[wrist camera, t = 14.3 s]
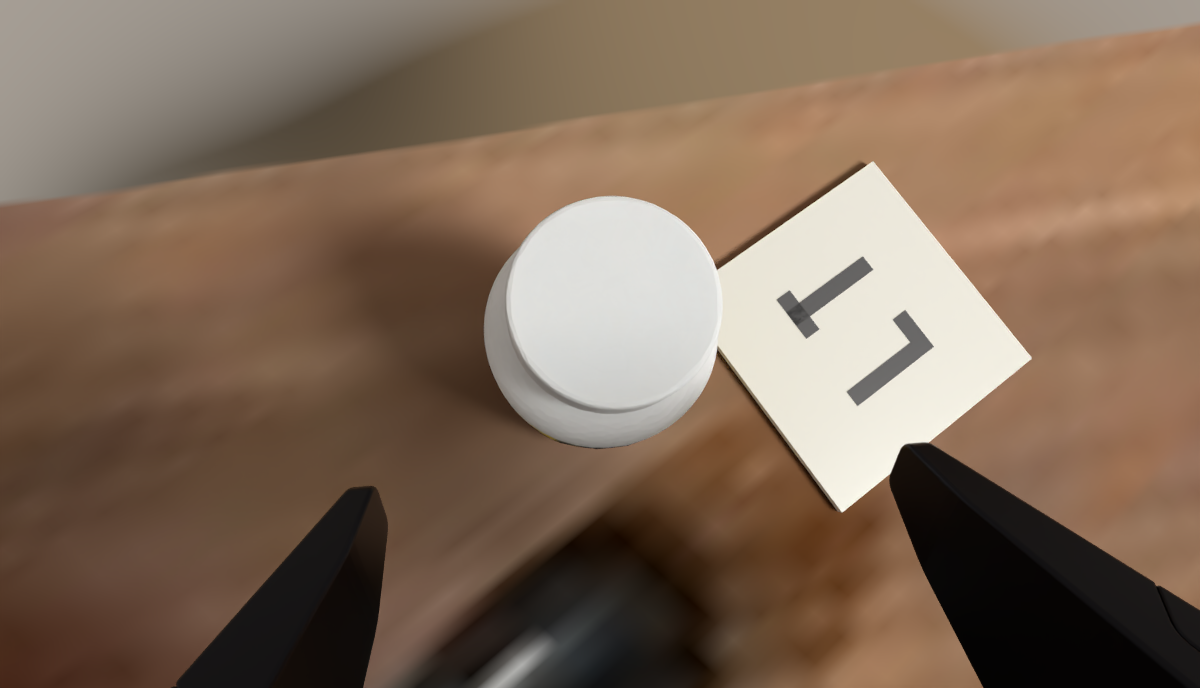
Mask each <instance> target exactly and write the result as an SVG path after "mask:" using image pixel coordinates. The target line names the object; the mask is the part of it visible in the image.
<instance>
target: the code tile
mask: <svg viewBox="0 0 1200 688" xmlns="http://www.w3.org/2000/svg"><path fill="white" fill-rule="evenodd" d="M717 272H718V276H719V280H720V285H721V289H722V298H723V312H722V321H721V326H720V331H719V335H718V346H717V350H718V351H719V352H720V354H721V355H722V356H723V358H724V359H725V360H726V362H727V363H728V364H729V366H730V367H731V368H732V370H733V371H734V372H735V374H736V375H737V376H738V378H739V379H740V381H741V382H742V383H743V385H744V386H745V387H746V389H747V390H748V391H749V393H750V394H751V395H752V397H753V398H754V399H755V401H756V402H757V403H758V405H759V406H760V407H761V409H762V410H763V412H764V413H765V414H766V416H767V417H768V418H769V420H770V421H771V422H772V424H773V425H774V426H775V428H776V429H777V430H778V432H779V433H780V434H781V436H782V437H783V438H784V440H785V441H786V442H787V444H788V445H789V447H790V448H791V449H792V451H793V452H794V453H795V455H796V456H797V457H798V459H799V460H800V461H801V463H802V464H803V465H804V467H805V468H806V469H807V471H808V472H809V473H810V475H811V476H812V477H813V479H814V480H815V482H816V483H817V484H818V486H819V487H820V488H821V490H822V491H823V492H824V494H825V495H826V496H827V498H828V499H829V500H830V502H831V503H832V504H833V506H834V507H835V508H836V510H837V511H838V512H841V513H842V512H843V511H845V510H846V509H847V508H848V507H850V506H851V505H852V504H853V503H855V502H856V501H857V500H858V499H859V498H861V497H862V496H863V495H864V494H866V493H867V492H868V491H869V490H871V489H872V488H873V487H874V486H875V485H877V484H878V483H879V482H880V481H882V480H883V479H884V478H885V477H887V476H888V475H889V474H890V473H891V471H892V468H893V466H894V463H895V461H896V459H897V456H898V454H899V451H900V449H901V447H902V446H903V445H905V444H907V443H919V442H927V443H928V442H930V441H931V440H932V439H933V438H935V437H936V436H937V435H938V434H940V433H941V432H942V431H943V430H944V429H946V428H947V427H948V426H949V425H951V424H952V423H953V422H954V421H956V420H957V419H958V418H959V417H960V416H962V415H963V414H964V413H965V412H967V411H968V410H969V409H970V408H972V407H973V406H974V405H975V404H976V403H978V402H979V401H980V400H981V399H983V398H984V397H985V396H986V395H988V394H989V393H990V392H991V391H992V390H994V389H995V388H996V387H997V386H999V385H1000V384H1001V383H1002V382H1004V381H1005V380H1006V379H1007V378H1009V377H1010V376H1011V375H1012V374H1013V373H1015V372H1016V371H1017V370H1018V369H1020V368H1021V367H1022V366H1023V365H1025V364H1026V363H1027V362H1028V361H1029V360H1031V359H1032V358H1031V356H1030V355H1029V354H1028V353H1027V351H1026V350H1025V349H1024V348H1023V347H1022V345H1021V344H1020V343H1019V342H1018V340H1017V339H1016V338H1015V337H1014V335H1013V334H1012V333H1011V332H1010V330H1009V329H1008V328H1007V327H1006V325H1005V324H1004V323H1003V322H1002V320H1001V319H1000V318H999V317H998V316H997V314H996V313H995V312H994V311H993V309H992V308H991V307H990V306H989V304H988V303H987V302H986V301H985V299H984V298H983V297H982V296H981V294H980V293H979V292H978V291H977V289H976V288H975V287H974V286H973V285H972V283H971V282H970V281H969V280H968V278H967V277H966V276H965V275H964V273H963V272H962V271H961V270H960V268H959V267H958V266H957V265H956V263H955V262H954V261H953V260H952V258H951V257H950V256H949V255H948V254H947V252H946V251H945V250H944V249H943V247H942V246H941V245H940V244H939V242H938V241H937V240H936V239H935V237H934V236H933V235H932V234H931V232H930V231H929V230H928V229H927V227H926V226H925V225H924V224H923V223H922V221H921V220H920V219H919V218H918V216H917V215H916V214H915V213H914V211H913V210H912V209H911V208H910V206H909V205H908V204H907V203H906V201H905V200H904V199H903V198H902V196H901V195H900V194H899V193H898V192H897V190H896V189H895V188H894V187H893V185H892V184H891V183H890V182H889V180H888V179H887V178H886V177H885V175H884V174H883V173H882V172H881V170H880V169H879V168H878V167H877V165H876V164H875V163H874V162H871V163H870V164H868V165H867V166H865V167H864V168H863V169H861V170H860V171H858V172H857V173H855V174H854V175H853V176H851V177H850V178H848V179H847V180H845V181H844V182H843V183H841V184H840V185H838V186H837V187H835V188H834V189H833V190H831V191H830V192H828V193H827V194H825V195H824V196H823V197H821V198H820V199H818V200H817V201H815V202H814V203H813V204H811V205H810V206H808V207H807V208H805V209H804V210H803V211H801V212H800V213H798V214H797V215H795V216H794V217H793V218H791V219H790V220H788V221H787V222H785V223H784V224H782V225H781V226H780V227H778V228H777V229H775V230H774V231H772V232H771V233H770V234H768V235H767V236H765V237H764V238H762V239H761V240H760V241H758V242H757V243H755V244H754V245H752V246H751V247H750V248H748V249H747V250H745V251H744V252H742V253H741V254H740V255H738V256H737V257H735V258H734V259H732V260H731V261H730V262H728V263H727V264H725V265H724V266H722V267H721V268H720V269H718V270H717Z"/></svg>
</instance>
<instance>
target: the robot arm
mask: <svg viewBox="0 0 1200 688" xmlns="http://www.w3.org/2000/svg"><path fill="white" fill-rule="evenodd" d="M889 481H890V488H891V491H892V493H893V496H894V499H895V501H896V504H897V506H898V509H899V511H900V514H901V516H902V519H903V522H904V524H905V527H906V529H907V532H908V534H909V537H910V539H911V542H912V545H913V547H914V550H915V552H916V555H917V557H918V560H919V562H920V564H921V567H922V569H923V571H924V573H925V575H926V577H927V579H928V581H929V583H930V585H931V587H932V589H933V591H934V593H935V595H936V597H937V599H938V601H939V603H940V604H941V606H942V608H943V610H944V612H945V614H946V616H947V618H948V620H949V622H950V624H951V626H952V628H953V630H954V632H955V634H956V636H957V637H958V639H959V641H960V643H961V645H962V647H963V649H964V651H965V653H966V655H967V657H968V659H969V661H970V663H971V665H972V667H973V669H974V670H975V672H976V674H977V676H978V678H979V680H980V682H981V684H982V686H983V688H1200V610H1199V609H1197V608H1195V607H1194V606H1192V605H1190V604H1189V603H1187V602H1185V601H1184V600H1182V599H1181V598H1179V597H1177V596H1176V595H1174V594H1173V593H1171V592H1169V591H1168V590H1166V589H1165V588H1163V587H1161V586H1156V585H1155V583H1154V582H1153V581H1151V580H1150V579H1148V578H1147V577H1145V576H1143V575H1142V574H1140V573H1139V572H1137V571H1135V570H1134V569H1132V568H1131V567H1129V566H1127V565H1126V564H1124V563H1122V562H1121V561H1119V560H1118V559H1116V558H1114V557H1113V556H1111V555H1110V554H1108V553H1106V552H1105V551H1103V550H1102V549H1100V548H1098V547H1097V546H1095V545H1093V544H1092V543H1090V542H1089V541H1087V540H1085V539H1084V538H1082V537H1081V536H1079V535H1077V534H1076V533H1074V532H1073V531H1071V530H1069V529H1068V528H1066V527H1064V526H1063V525H1061V524H1060V523H1058V522H1056V521H1055V520H1053V519H1052V518H1050V517H1048V516H1047V515H1045V514H1044V513H1042V512H1040V511H1039V510H1037V509H1036V508H1034V507H1032V506H1031V505H1029V504H1027V503H1026V502H1024V501H1023V500H1021V499H1019V498H1018V497H1016V496H1015V495H1013V494H1011V493H1010V492H1008V491H1007V490H1005V489H1003V488H1002V487H1000V486H998V485H997V484H995V483H994V482H992V481H990V480H989V479H987V478H986V477H984V476H982V475H981V474H979V473H978V472H976V471H974V470H973V469H971V468H969V467H968V466H966V465H965V464H963V463H961V462H960V461H958V460H957V459H955V458H953V457H952V456H950V455H949V454H947V453H945V452H944V451H942V450H941V449H939V448H937V447H936V446H934V445H932V444H930V443H927V442H919V443H907V444H905V445H903V446H902V447H901V449H900V451H899V454H898V456H897V459H896V461H895V463H894V466H893V468H892V471H891V473H890V479H889ZM387 534H388V522H387V517H386V513H385V510H384V507H383V504H382V501H381V498H380V495H379V492H378V490H377V489H376V487H374V486H363V487H352V488H350V489H348V490H347V491H346V492H345V493H344V494H343V495H342V496H341V497H340V498H339V499H338V500H337V502H336V503H335V504H334V505H333V506H332V507H331V508H330V509H329V511H328V512H327V513H326V514H325V515H324V516H323V517H322V518H321V520H320V521H319V522H318V523H317V524H316V525H315V526H314V527H313V529H312V530H311V531H310V532H309V533H308V534H307V535H306V536H305V538H304V539H303V540H302V541H301V542H300V543H299V544H298V545H297V547H296V548H295V549H294V550H293V551H292V552H291V553H290V555H289V556H288V557H287V558H286V559H285V560H284V561H283V562H282V564H281V565H280V566H279V567H278V568H277V569H276V570H275V571H274V573H273V574H272V575H271V576H270V577H269V578H268V579H267V580H266V582H265V583H264V584H263V585H262V586H261V587H260V588H259V589H258V591H257V592H256V593H255V594H254V595H253V596H252V597H251V598H250V600H249V601H248V602H247V603H246V604H245V605H244V606H243V607H242V609H241V610H240V611H239V612H238V613H237V614H236V615H235V616H234V618H233V619H232V620H231V621H230V622H229V623H228V624H227V625H226V627H225V628H224V629H223V630H222V631H221V632H220V633H219V634H218V636H217V637H216V638H215V639H214V640H213V641H212V642H211V643H210V645H209V646H208V647H207V648H206V649H205V650H204V651H203V652H202V654H201V655H200V656H199V657H198V658H197V659H196V660H195V661H194V663H193V664H192V665H191V666H190V667H189V668H188V669H187V670H186V672H185V673H184V674H183V675H182V676H181V677H180V678H179V679H178V681H177V683H176V686H177V687H176V686H174V687H171V688H363V685H364V681H365V677H366V672H367V668H368V663H369V659H370V655H371V650H372V646H373V641H374V637H375V632H376V627H377V622H378V614H379V607H380V597H381V588H382V579H383V570H384V561H385V552H386V543H387Z"/></svg>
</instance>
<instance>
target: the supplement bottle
mask: <svg viewBox="0 0 1200 688" xmlns="http://www.w3.org/2000/svg"><path fill="white" fill-rule="evenodd" d="M722 312H723V298H722V289H721V285H720V280H719V276H718V272H717V269H716V267H715V264H714V262H713V260H712V258H711V256H710V254H709V252H708V251H707V249H706V247H705V246H704V244H703V243H702V241H701V240H700V239H699V238H698V236H697V235H696V234H695V233H694V232H693V231H692V230H691V229H690V227H688V226H687V225H686V224H685V223H684V222H683V221H681V220H680V219H679V218H677V217H676V216H674V215H673V214H671V213H669V212H668V211H666V210H664V209H662V208H660V207H658V206H656V205H654V204H652V203H649V202H646V201H643V200H639V199H634V198H629V197H622V196H602V197H594V198H588V199H585V200H581V201H577V202H574V203H572V204H569V205H567V206H565V207H563V208H561V209H559V210H557V211H555V212H554V213H552V214H551V215H549V216H548V217H546V218H545V219H544V220H543V221H541V222H540V223H539V224H538V225H537V226H536V227H535V228H534V229H533V230H532V231H531V232H530V233H529V235H528V236H527V237H526V238H525V240H524V241H523V242H522V244H521V246H520V247H519V248H518V249H517V250H516V251H515V252H514V253H513V254H512V255H511V257H510V258H509V259H508V260H507V261H506V263H505V264H504V266H503V267H502V269H501V270H500V272H499V273H498V275H497V277H496V279H495V281H494V284H493V286H492V289H491V291H490V294H489V298H488V301H487V305H486V310H485V317H484V341H485V348H486V353H487V358H488V361H489V365H490V368H491V371H492V373H493V375H494V378H495V380H496V382H497V384H498V386H499V388H500V390H501V392H502V393H503V395H504V396H505V398H506V399H507V401H508V402H509V403H510V405H511V406H512V407H513V408H514V410H515V411H516V412H517V413H518V414H519V415H520V416H521V417H522V418H523V419H524V420H525V421H526V422H528V423H529V424H530V425H531V426H532V427H534V428H535V429H536V430H537V431H539V432H540V433H542V434H543V435H545V436H547V437H549V438H551V439H553V440H555V441H557V442H560V443H564V444H568V445H573V446H579V447H584V448H594V449H603V448H614V447H622V446H628V445H631V444H633V443H637V442H639V441H642V440H645V439H647V438H650V437H652V436H654V435H656V434H658V433H660V432H661V431H663V430H665V429H666V428H668V427H669V426H671V425H672V424H673V423H675V422H676V421H677V420H678V419H680V418H681V417H682V416H683V415H684V414H685V413H686V412H687V411H688V410H689V409H690V408H691V406H692V405H693V404H694V403H695V401H696V400H697V398H698V397H699V396H700V394H701V393H702V391H703V389H704V387H705V385H706V384H707V382H708V379H709V377H710V374H711V372H712V369H713V366H714V362H715V358H716V353H717V346H718V335H719V331H720V326H721V321H722Z"/></svg>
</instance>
